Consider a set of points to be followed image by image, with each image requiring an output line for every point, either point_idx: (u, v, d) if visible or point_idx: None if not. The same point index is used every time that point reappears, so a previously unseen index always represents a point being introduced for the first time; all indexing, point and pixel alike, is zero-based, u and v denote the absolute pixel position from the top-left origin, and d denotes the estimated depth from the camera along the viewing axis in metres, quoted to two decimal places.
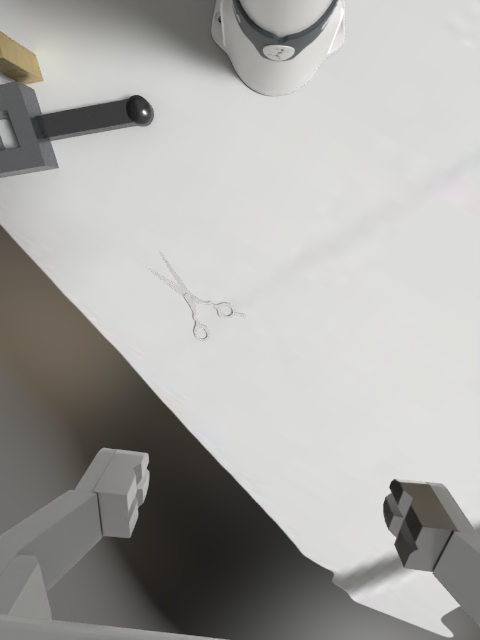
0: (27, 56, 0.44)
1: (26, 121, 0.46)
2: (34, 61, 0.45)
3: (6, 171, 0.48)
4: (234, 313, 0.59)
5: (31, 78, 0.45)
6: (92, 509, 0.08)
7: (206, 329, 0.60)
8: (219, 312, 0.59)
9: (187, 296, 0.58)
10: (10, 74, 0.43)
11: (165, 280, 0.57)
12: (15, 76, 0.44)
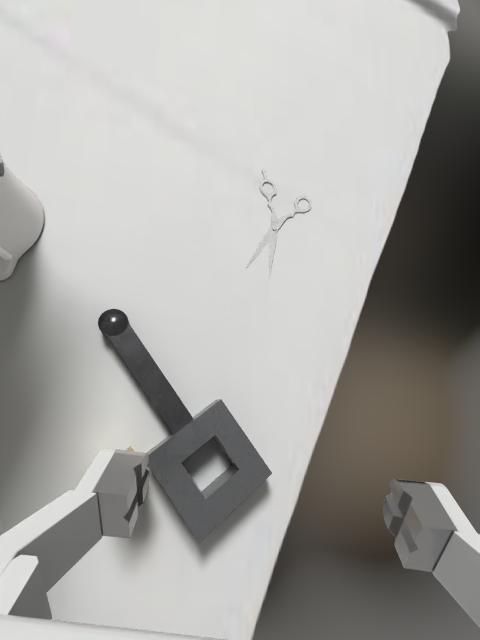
0: None
1: (183, 436, 0.36)
2: None
3: (250, 444, 0.38)
4: (266, 179, 0.54)
5: None
6: (92, 509, 0.08)
7: (296, 200, 0.55)
8: (273, 193, 0.54)
9: (275, 227, 0.52)
10: None
11: (271, 253, 0.50)
12: None
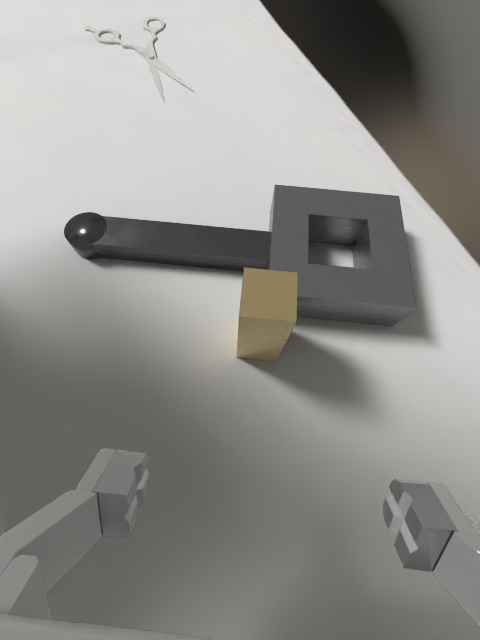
0: None
1: (280, 241, 0.24)
2: None
3: (349, 192, 0.27)
4: (97, 31, 0.42)
5: None
6: (92, 509, 0.08)
7: (145, 25, 0.43)
8: (117, 35, 0.42)
9: (150, 54, 0.40)
10: None
11: (173, 74, 0.39)
12: None
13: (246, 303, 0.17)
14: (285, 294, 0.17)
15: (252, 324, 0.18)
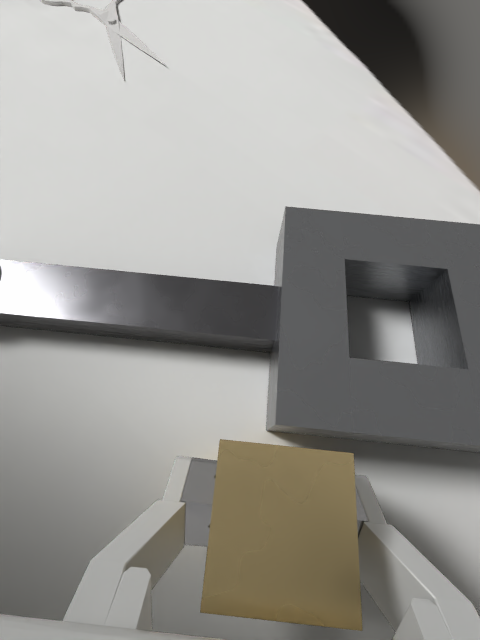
0: None
1: (296, 312, 0.14)
2: None
3: (411, 220, 0.16)
4: None
5: None
6: (180, 518, 0.08)
7: None
8: None
9: (111, 18, 0.29)
10: None
11: (140, 44, 0.28)
12: None
13: (223, 561, 0.06)
14: (326, 530, 0.07)
15: None
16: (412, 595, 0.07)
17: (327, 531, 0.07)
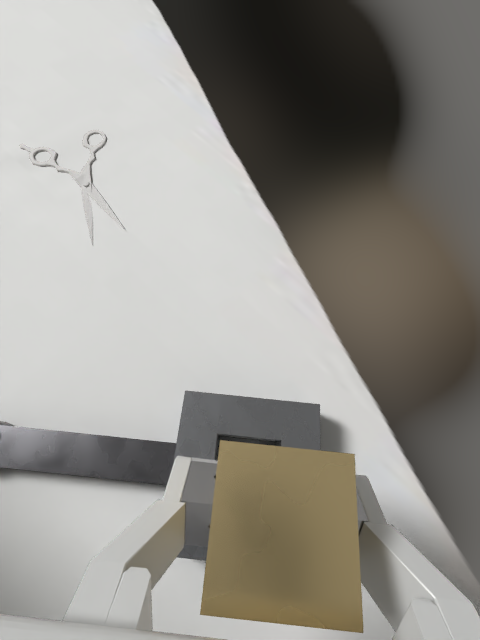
0: None
1: None
2: None
3: (266, 400, 0.25)
4: (33, 150, 0.40)
5: None
6: (180, 519, 0.08)
7: (84, 141, 0.41)
8: (52, 155, 0.39)
9: (85, 181, 0.38)
10: None
11: (106, 207, 0.37)
12: None
13: (223, 563, 0.06)
14: (327, 530, 0.07)
15: None
16: (412, 595, 0.07)
17: (328, 533, 0.07)
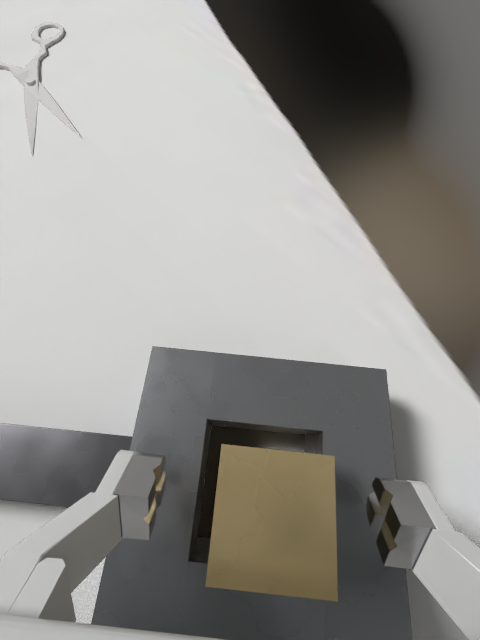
0: None
1: None
2: None
3: (292, 362, 0.14)
4: None
5: None
6: (113, 511, 0.08)
7: (34, 34, 0.30)
8: None
9: (30, 78, 0.27)
10: None
11: (57, 110, 0.26)
12: None
13: (224, 545, 0.08)
14: (310, 520, 0.08)
15: None
16: None
17: (311, 521, 0.08)
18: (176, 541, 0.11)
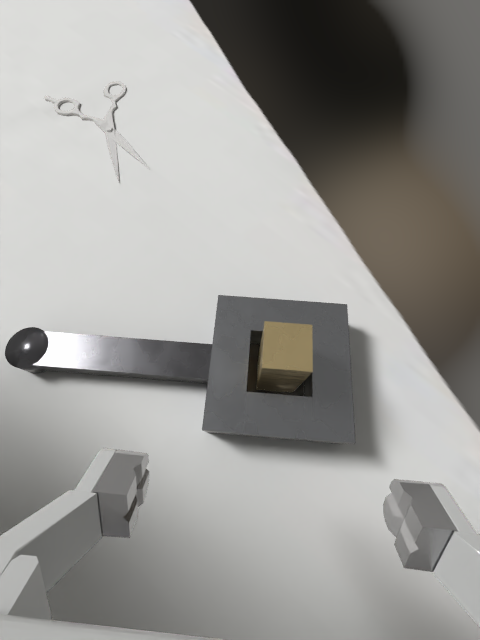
0: None
1: (219, 365, 0.24)
2: (257, 375, 0.26)
3: (295, 302, 0.26)
4: (57, 101, 0.41)
5: None
6: (92, 509, 0.08)
7: (105, 92, 0.42)
8: (76, 105, 0.41)
9: (109, 127, 0.39)
10: None
11: (130, 149, 0.38)
12: None
13: (268, 355, 0.20)
14: (302, 346, 0.20)
15: (273, 372, 0.20)
16: None
17: (302, 347, 0.20)
18: (240, 383, 0.23)
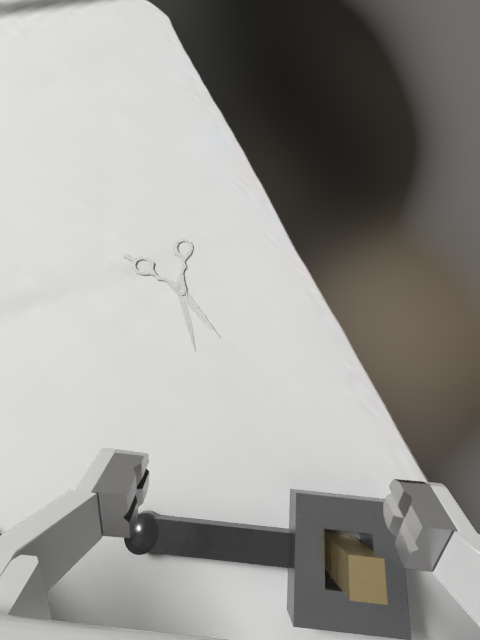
0: (329, 563, 0.31)
1: (301, 563, 0.30)
2: (325, 557, 0.33)
3: (357, 500, 0.33)
4: (134, 260, 0.48)
5: (335, 536, 0.33)
6: (92, 509, 0.08)
7: (176, 250, 0.49)
8: (151, 265, 0.47)
9: (182, 291, 0.46)
10: (357, 544, 0.31)
11: (202, 315, 0.44)
12: (353, 541, 0.32)
13: (353, 588, 0.26)
14: (378, 580, 0.26)
15: None
16: None
17: (378, 580, 0.26)
18: (319, 581, 0.30)
